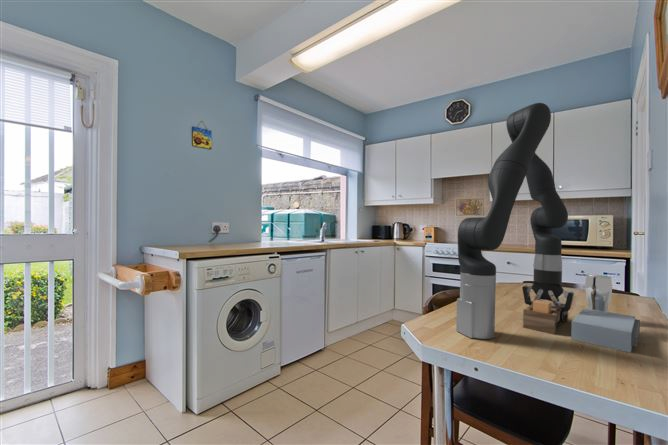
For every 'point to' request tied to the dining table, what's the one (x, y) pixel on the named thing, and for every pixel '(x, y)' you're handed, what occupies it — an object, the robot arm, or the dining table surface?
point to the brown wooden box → (543, 319)
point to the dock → (606, 329)
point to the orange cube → (542, 306)
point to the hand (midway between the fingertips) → (546, 320)
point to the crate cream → (551, 301)
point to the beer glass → (598, 292)
